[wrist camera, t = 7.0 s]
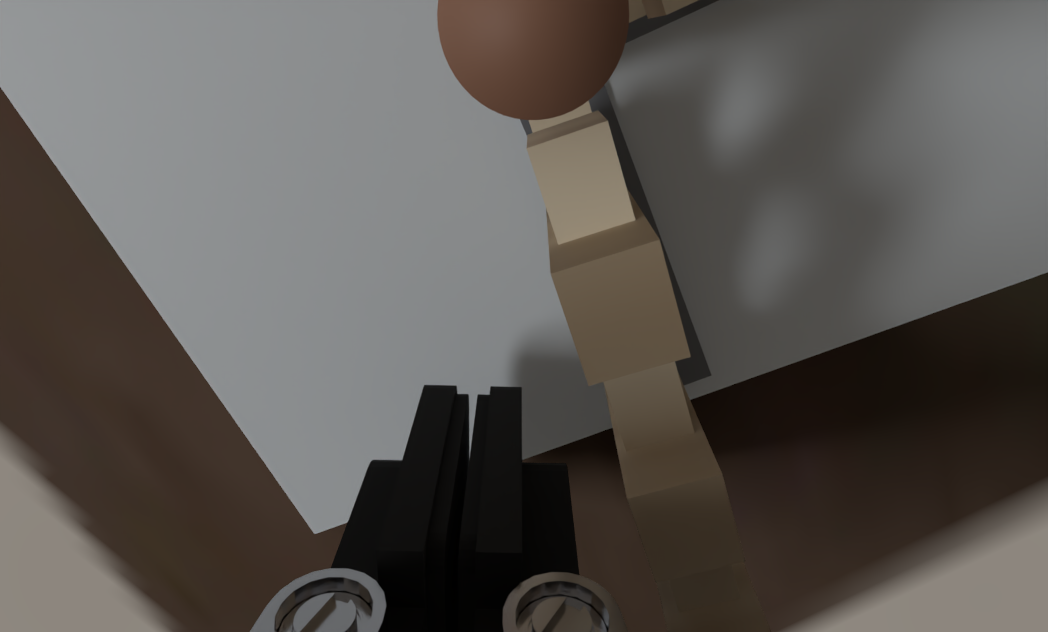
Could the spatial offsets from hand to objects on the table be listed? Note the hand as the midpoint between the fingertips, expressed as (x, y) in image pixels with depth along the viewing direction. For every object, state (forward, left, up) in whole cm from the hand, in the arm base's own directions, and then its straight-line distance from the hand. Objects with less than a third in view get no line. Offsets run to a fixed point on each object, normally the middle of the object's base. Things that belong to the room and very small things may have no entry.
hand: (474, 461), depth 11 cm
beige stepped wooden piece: (-3, -2, -1) cm, 4 cm away
